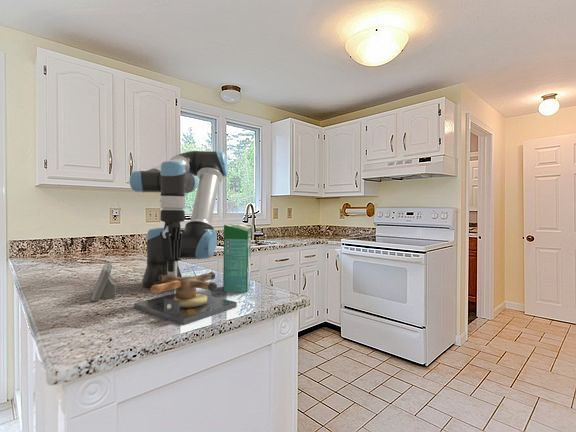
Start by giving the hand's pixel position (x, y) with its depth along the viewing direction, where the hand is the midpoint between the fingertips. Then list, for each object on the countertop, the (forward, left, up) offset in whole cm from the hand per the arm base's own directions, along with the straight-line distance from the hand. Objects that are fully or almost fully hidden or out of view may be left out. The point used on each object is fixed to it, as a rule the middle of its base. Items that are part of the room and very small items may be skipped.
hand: (172, 280), depth 107 cm
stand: (+9, -1, -7) cm, 11 cm away
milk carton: (+5, +26, -7) cm, 27 cm away
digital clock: (-25, -11, -7) cm, 28 cm away
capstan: (+9, -1, -5) cm, 10 cm away
